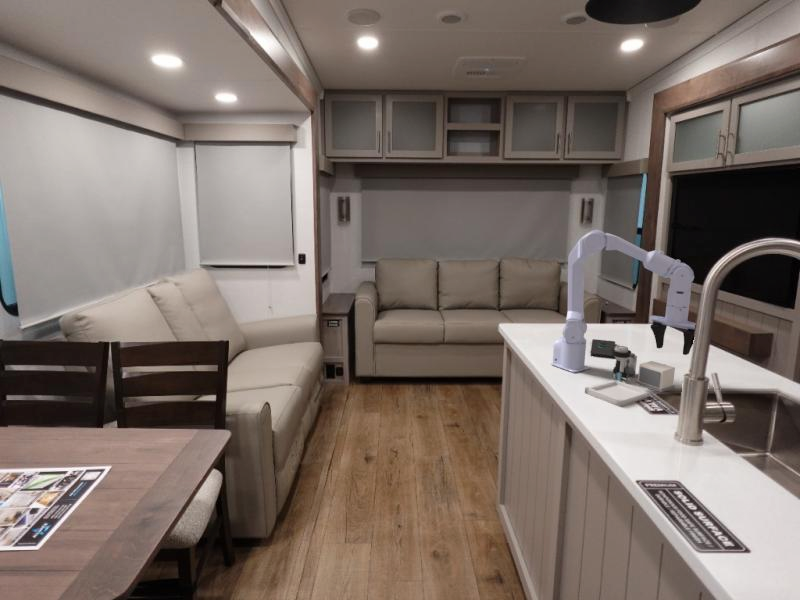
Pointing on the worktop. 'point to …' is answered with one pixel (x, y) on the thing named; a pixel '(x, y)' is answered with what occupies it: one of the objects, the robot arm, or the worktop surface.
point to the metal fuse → (630, 365)
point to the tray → (617, 392)
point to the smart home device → (602, 348)
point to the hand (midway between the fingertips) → (672, 350)
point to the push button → (620, 362)
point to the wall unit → (656, 376)
